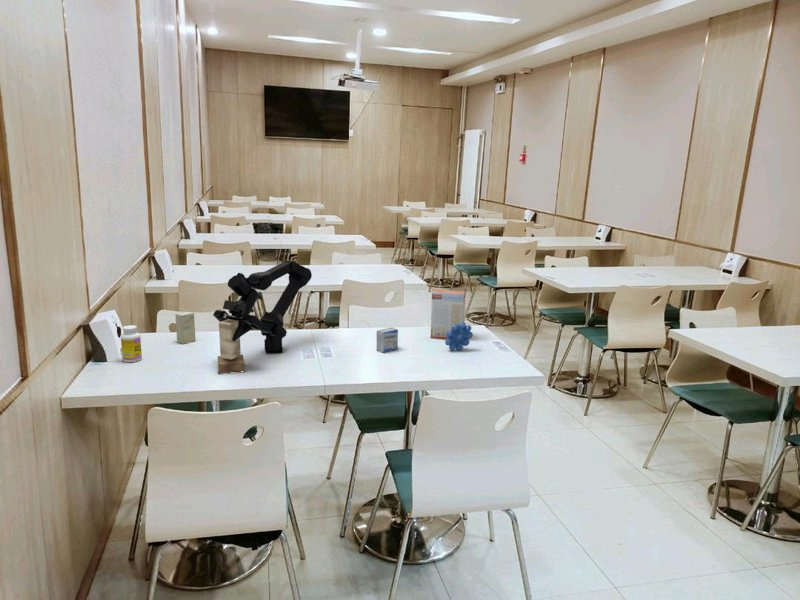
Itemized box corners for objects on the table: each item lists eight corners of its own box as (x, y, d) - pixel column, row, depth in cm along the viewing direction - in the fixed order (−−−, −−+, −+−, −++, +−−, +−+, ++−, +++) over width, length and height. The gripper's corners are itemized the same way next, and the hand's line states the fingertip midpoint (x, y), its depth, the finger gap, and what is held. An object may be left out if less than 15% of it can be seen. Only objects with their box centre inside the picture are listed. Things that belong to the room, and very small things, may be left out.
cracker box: (463, 337, 259) (466, 290, 254) (462, 341, 253) (464, 293, 249) (432, 334, 262) (434, 288, 257) (430, 338, 256) (431, 291, 252)
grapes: (468, 346, 246) (469, 319, 243) (473, 351, 240) (475, 323, 237) (441, 347, 243) (442, 320, 241) (446, 353, 237) (448, 324, 234)
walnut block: (243, 364, 219) (242, 354, 218) (244, 372, 211) (244, 362, 210) (218, 366, 217) (217, 356, 216) (218, 375, 208) (217, 364, 207)
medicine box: (383, 353, 235) (383, 332, 233) (376, 350, 238) (376, 330, 236) (397, 349, 240) (398, 329, 238) (390, 346, 243) (391, 326, 241)
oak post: (230, 353, 216) (228, 319, 213) (240, 355, 214) (239, 321, 211) (220, 357, 212) (218, 322, 208) (231, 359, 210) (229, 324, 206)
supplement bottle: (136, 363, 217) (133, 329, 214) (119, 362, 217) (116, 329, 214) (145, 357, 223) (142, 324, 220) (128, 356, 224) (125, 324, 221)
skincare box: (182, 344, 240) (180, 315, 237) (176, 342, 242) (174, 313, 239) (196, 341, 244) (194, 312, 242) (190, 338, 247) (188, 311, 244)
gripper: (215, 288, 214) (194, 324, 207) (256, 294, 207) (236, 332, 200) (230, 304, 223) (211, 339, 216) (270, 310, 216) (252, 347, 208)
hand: (227, 339), depth 210 cm, fingers closed on oak post, 5 cm apart
